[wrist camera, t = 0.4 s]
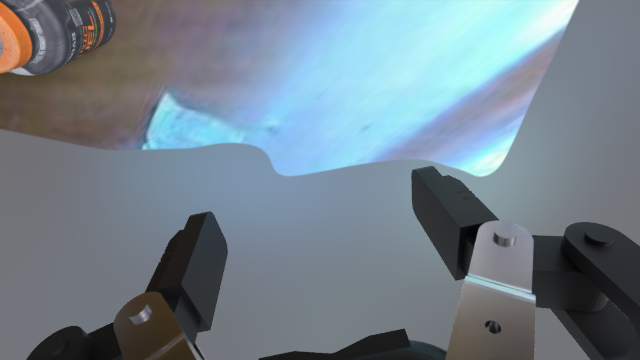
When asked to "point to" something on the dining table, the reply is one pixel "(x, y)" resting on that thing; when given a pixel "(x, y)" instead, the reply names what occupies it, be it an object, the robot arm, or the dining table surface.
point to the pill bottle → (51, 32)
